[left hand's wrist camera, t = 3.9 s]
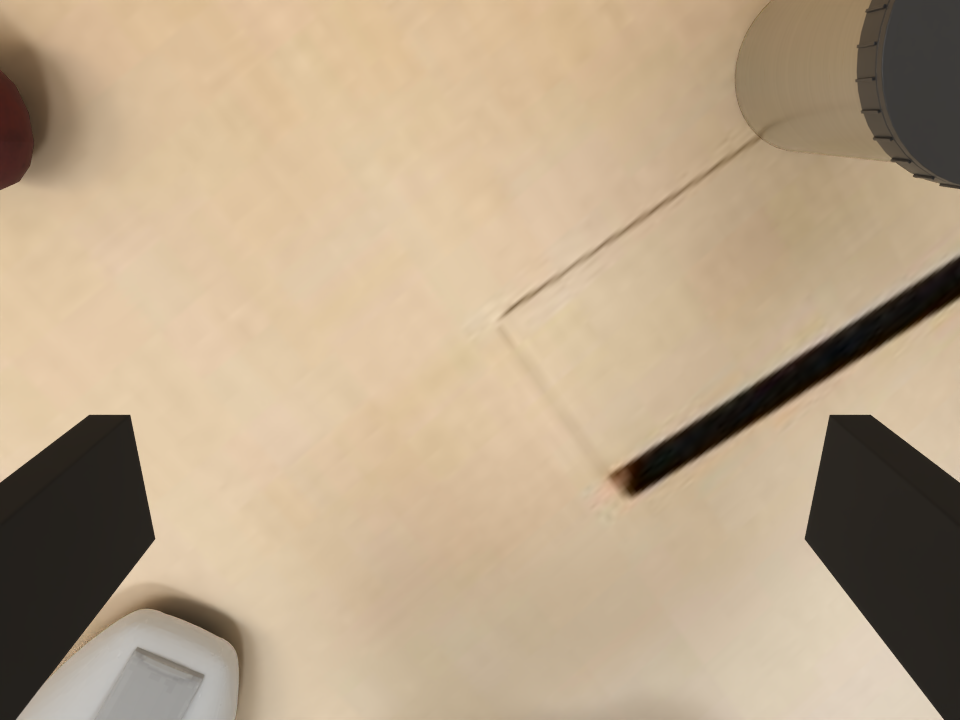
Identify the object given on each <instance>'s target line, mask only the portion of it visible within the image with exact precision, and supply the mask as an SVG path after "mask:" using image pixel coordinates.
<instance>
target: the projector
mask: <svg viewBox="0 0 960 720" xmlns="http://www.w3.org/2000/svg"><path fill="white" fill-rule="evenodd" d="M238 689H239V665H238V657H237V653H236V651H235V649H234V647H233V646H232V645H231V644H230V643H229V642H228V641H226V640H225V639H223V638H220V637H218V636H216V635H214V634H212V633H210V632H208V631H206V630H205V629H203V628H201V627H198V626H196V625H194V624H191V623H189V622H187V621H184V620H182V619H179V618H177V617H174V616H171V615H168V614H165V613H162V612H161V611H158V610H154V609H139V610H136V611H134V612H132V613H130V614H128V615H126V616H124V617H123V618H121V619H119V620H118V621H116V622H115V623H113V624H112V625H110V626H109V627H108V628H106V629H105V630H103V631H102V632H101V633H99V634H98V635H97V636H96V637H94V638H93V639H92V640H90V641H89V642H88V643H87V644H85V645H84V646H83V647H82V648H81V649H80V650H78V651H77V652H76V653H75V654H74V655H73V656H71V657H70V658H69V659H68V660H67V661H66V662H65V663H64V664H63V665H62V666H61V667H60V668H59V669H57V670H56V672H55V673H54V674H53V675H52V676H51V677H50V678H49V679H48V680H47V681H46V682H45V683H44V684H43V685H42V687H41V688H40V689H39V690H38V692H37V693H36V694H35V696H34V697H33V698H32V699H31V701H30V702H29V703H28V705H27V706H26V707H25V709H24V710H23V711H22V712H21V714H20V715H19V716H18V718H17V719H16V720H235V718H236V711H237V703H238Z"/></svg>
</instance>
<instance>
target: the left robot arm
mask: <svg viewBox="0 0 960 720" xmlns="http://www.w3.org/2000/svg"><path fill="white" fill-rule="evenodd" d="M154 540H155V535H154V530H153V525H152V520H151V515H150V510H149V506H148V501H147V496H146V491H145V486H144V481H143V476H142V471H141V466H140V461H139V456H138V451H137V446H136V441H135V436H134V431H133V426H132V421H131V416H130V415H89V416H87V417H86V418H85V419H83V420H82V421H81V422H79V423H78V424H77V425H75V426H74V427H73V428H72V429H70V430H69V431H68V432H66V433H65V434H64V435H62V436H61V437H60V438H58V439H57V440H56V441H54V442H53V443H52V444H50V445H49V446H48V447H47V448H45V449H44V450H43V451H41V452H40V453H39V454H37V455H36V456H35V457H33V458H32V459H31V460H29V461H28V462H27V463H26V464H24V465H23V466H22V467H20V468H19V469H18V470H16V471H15V472H14V473H12V474H11V475H10V476H8V477H7V478H6V479H4V480H3V481H2V482H1V483H0V720H16V719H17V718H18V716H19V715H20V714H21V712H22V711H23V710H24V709H25V707H26V706H27V705H28V703H29V702H30V701H31V699H32V698H33V697H34V696H35V694H36V693H37V692H38V690H39V689H40V688H41V687H42V685H43V684H44V683H45V681H46V680H47V679H48V677H49V676H50V675H51V674H52V672H53V671H54V670H55V668H56V667H57V666H58V664H59V663H60V662H61V661H62V659H63V658H64V657H65V655H66V654H67V653H68V652H69V650H70V649H71V648H72V646H73V645H74V644H75V642H76V641H77V640H78V639H79V637H80V636H81V635H82V633H83V632H84V631H85V629H86V628H87V627H88V626H89V624H90V623H91V622H92V620H93V619H94V618H95V617H96V615H97V614H98V613H99V611H100V610H101V609H102V607H103V606H104V605H105V604H106V602H107V601H108V600H109V598H110V597H111V596H112V594H113V593H114V592H115V591H116V589H117V588H118V587H119V585H120V584H121V583H122V582H123V580H124V579H125V578H126V576H127V575H128V574H129V572H130V571H131V570H132V569H133V567H134V566H135V565H136V563H137V562H138V561H139V559H140V558H141V557H142V556H143V554H144V553H145V552H146V550H147V549H148V548H149V547H150V545H151V544H152V543H153V541H154ZM805 540H806V541H807V543H808V544H809V545H810V547H811V548H812V549H813V550H814V552H815V553H816V554H817V556H818V557H819V558H820V559H821V561H822V562H823V563H824V565H825V566H826V567H827V569H828V570H829V571H830V572H831V574H832V575H833V576H834V578H835V579H836V580H837V582H838V583H839V584H840V585H841V587H842V588H843V589H844V591H845V592H846V593H847V594H848V596H849V597H850V598H851V600H852V601H853V602H854V604H855V605H856V606H857V607H858V609H859V610H860V611H861V613H862V614H863V615H864V617H865V618H866V619H867V620H868V622H869V623H870V624H871V626H872V627H873V628H874V629H875V631H876V632H877V633H878V635H879V636H880V637H881V639H882V640H883V641H884V642H885V644H886V645H887V646H888V648H889V649H890V650H891V652H892V653H893V654H894V655H895V657H896V658H897V659H898V661H899V662H900V663H901V664H902V666H903V667H904V668H905V670H906V671H907V672H908V674H909V675H910V676H911V677H912V679H913V680H914V681H915V683H916V684H917V685H918V687H919V688H920V689H921V690H922V692H923V693H924V694H925V696H926V697H927V698H928V699H929V701H930V702H931V703H932V705H933V706H934V707H935V709H936V710H937V711H938V712H939V714H940V715H941V716H942V718H943V719H944V720H960V483H959V482H958V481H957V480H956V479H954V478H953V477H952V476H950V475H949V474H948V473H946V472H945V471H944V470H942V469H941V468H940V467H938V466H937V465H936V464H934V463H933V462H932V461H931V460H929V459H928V458H927V457H925V456H924V455H923V454H921V453H920V452H919V451H917V450H916V449H915V448H913V447H912V446H911V445H910V444H908V443H907V442H906V441H904V440H903V439H902V438H900V437H899V436H898V435H896V434H895V433H894V432H892V431H891V430H890V429H888V428H887V427H886V426H885V425H883V424H882V423H881V422H879V421H878V420H877V419H875V418H874V417H873V416H871V415H830V416H829V421H828V426H827V431H826V436H825V441H824V446H823V451H822V456H821V461H820V466H819V471H818V476H817V481H816V486H815V491H814V496H813V501H812V506H811V510H810V515H809V520H808V525H807V530H806V535H805Z"/></svg>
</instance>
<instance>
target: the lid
mask: <svg viewBox="0 0 960 720" xmlns="http://www.w3.org/2000/svg"><path fill="white" fill-rule="evenodd" d="M865 13H866V17H865V20H864V23H863V27H862V30H861V35H860V41H859V45H857V48H858V53H857V79H855V82H857V86H858V94H859V99H860V103H861V108H862V110H861V114H864V117H865V119H866V122H867V125H868V127H869V129H870V130H871V132H872V134H873V136H874V137H873V140H874V141H877V142H878V143H879V145H880V146H881V147H882V149H883V150H884V151H885V153H886V154H887V155H889V156H890V157H891V158H892V159H891V160H890V161H891V162H896V163H897V164H898V165H900V166H901V167H903V168H904V169H906V170H907V171H909V172H910V173H912V174H914V175H913V177H916V178H923V179H926V180H929V181H933V182H936V183H940V185H939V186H943V187H950V188H957V189H960V0H872V1H871V3H870V5H869V8H868V9H866V11H865Z"/></svg>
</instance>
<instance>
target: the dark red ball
mask: <svg viewBox="0 0 960 720" xmlns="http://www.w3.org/2000/svg"><path fill="white" fill-rule="evenodd" d="M33 146H34V141H33V135H32V129H31V123H30V118H29V113H28V110H27V108H26V106H25V104H24V102H23V100H22V98H21V96H20V94H19V92H18V90H17V88H16V86H15V84H14V83H13V82H12V81H11V80H10V79H9V78H8V77H7V76H6V75H5V74H4V73H3V72H2V71H1V70H0V190H1V189H4V188H6V187H8V186H11V185H13V184H15V183H17V182H19V181H20V180H21V178H22V177H23V175H24V174H25V172H26V171H27V169H28V168H29V166H30V163H31V158H32V152H33Z"/></svg>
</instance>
